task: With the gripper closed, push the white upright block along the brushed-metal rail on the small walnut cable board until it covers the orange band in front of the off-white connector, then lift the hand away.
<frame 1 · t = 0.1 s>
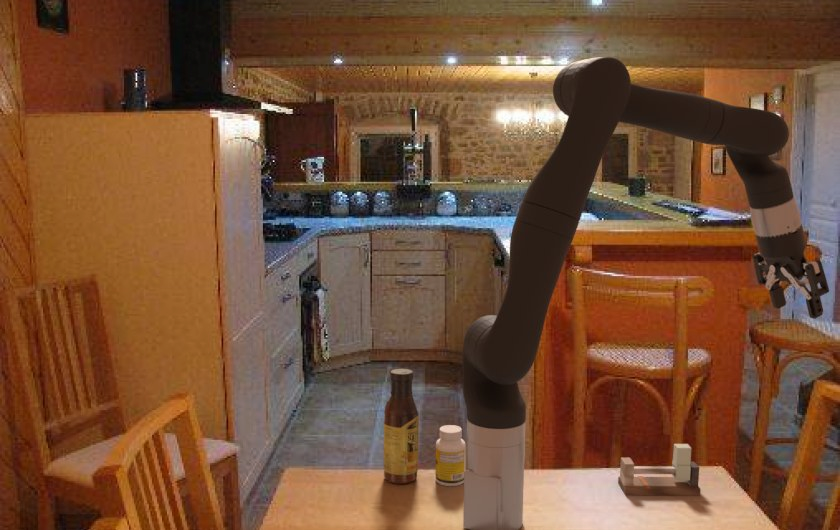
hand: (798, 311, 143), 31 cm above the table, tool tilted 20°, fingers open, 8 cm apart
white upright block: (681, 461, 143), point 5 cm above the table, slide at 0.0 cm
cable board: (658, 489, 144), on the table
supplement bottle: (450, 481, 147), on the table
sauce bottle: (400, 479, 148), on the table
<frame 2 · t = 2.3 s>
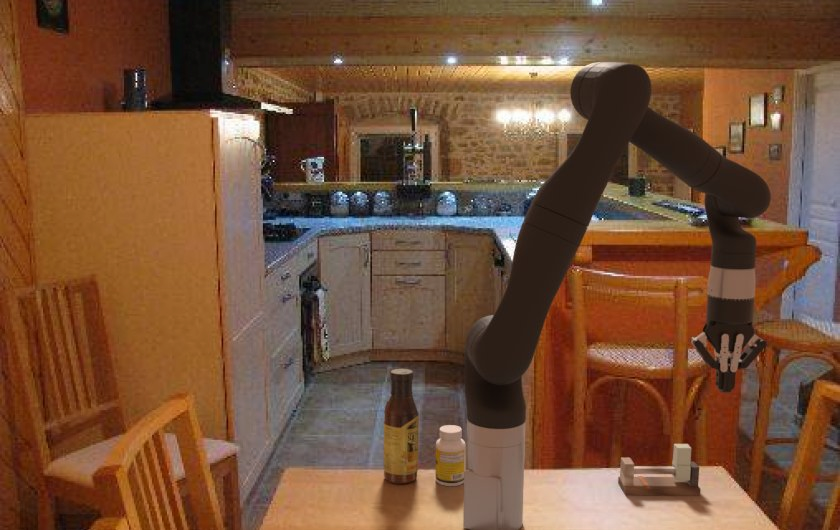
hand: (724, 391, 141), 18 cm above the table, tool pointing down, fingers closed
nothing on the table moved.
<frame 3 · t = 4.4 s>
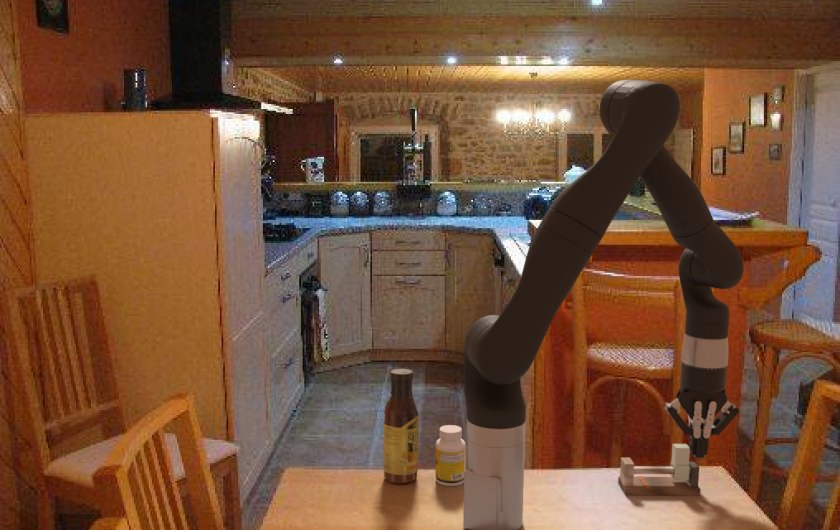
hand: (697, 456, 143), 6 cm above the table, tool pointing down, fingers closed
white upright block: (680, 461, 143), point 5 cm above the table, slide at 0.2 cm, touching gripper
everything else where it was.
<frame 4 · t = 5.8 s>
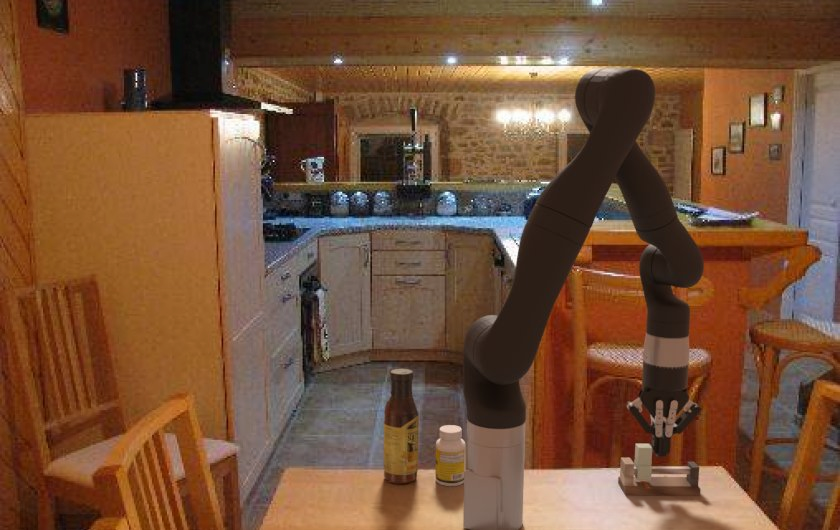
hand: (660, 455, 143), 6 cm above the table, tool pointing down, fingers closed
white upright block: (643, 461, 143), point 5 cm above the table, slide at 6.8 cm, touching gripper
everything else where it was.
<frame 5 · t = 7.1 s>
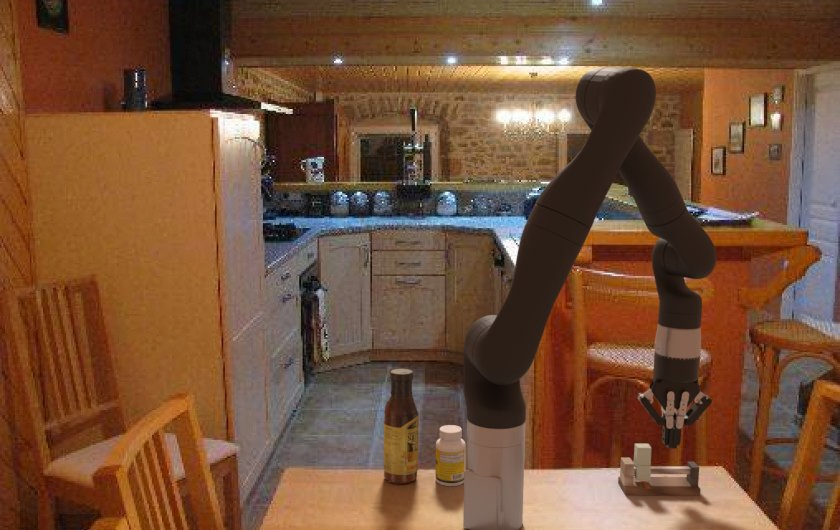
hand: (670, 447, 143), 8 cm above the table, tool pointing down, fingers closed
white upright block: (642, 461, 143), point 5 cm above the table, slide at 6.9 cm
everything else where it was.
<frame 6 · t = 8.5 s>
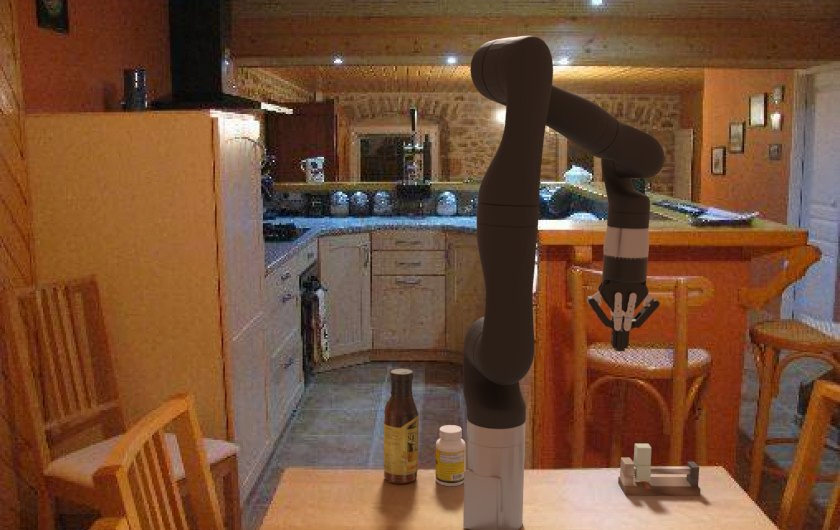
hand: (619, 350, 144), 24 cm above the table, tool pointing down, fingers closed
nothing on the table moved.
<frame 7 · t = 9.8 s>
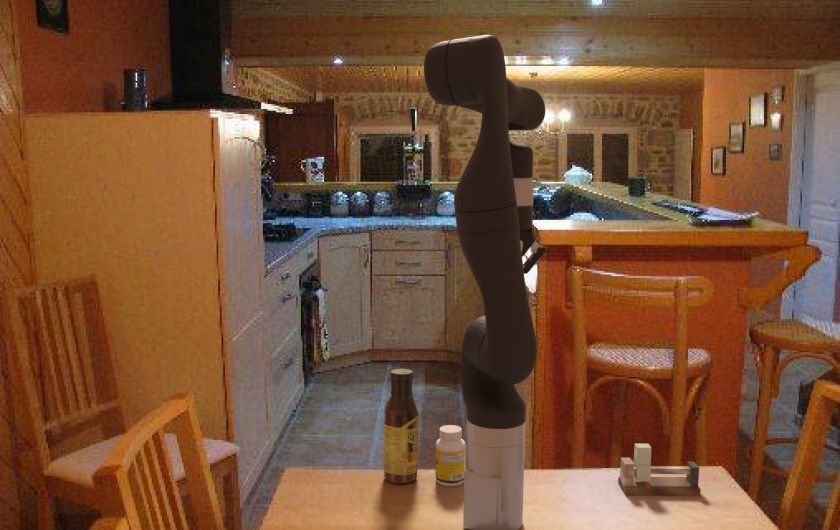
hand: (509, 295, 152), 32 cm above the table, tool pointing down, fingers closed
nothing on the table moved.
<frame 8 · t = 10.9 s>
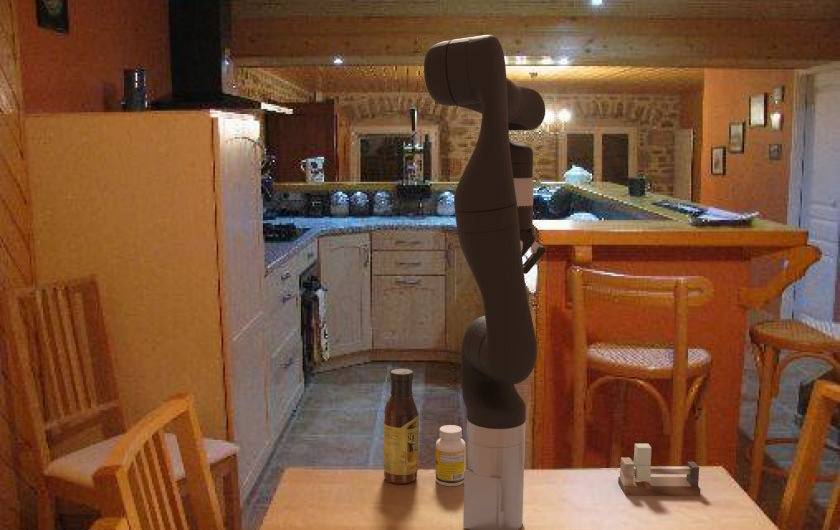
hand: (509, 295, 152), 32 cm above the table, tool pointing down, fingers closed
nothing on the table moved.
at the end: white upright block slide at 6.9 cm; the gripper is holding nothing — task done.
